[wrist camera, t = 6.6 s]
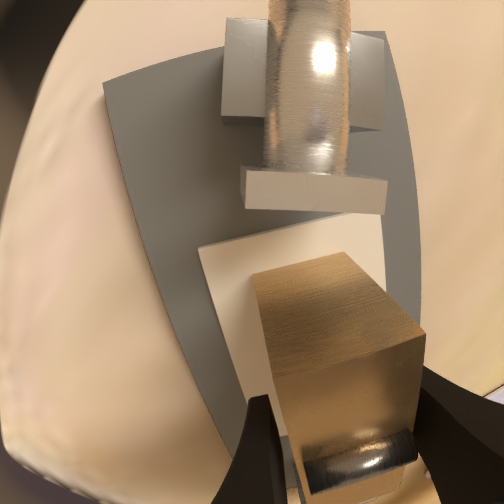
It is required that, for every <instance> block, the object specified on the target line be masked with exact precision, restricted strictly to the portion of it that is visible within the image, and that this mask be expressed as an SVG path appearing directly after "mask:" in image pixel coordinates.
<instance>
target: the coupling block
mask: <svg viewBox="0 0 504 504" xmlns="http://www.w3.org/2000/svg"><path fill="white" fill-rule="evenodd" d="M252 277H253V282H254V287H255V292H256V297H257V303H258V308H259V313H260V318H261V323H262V328H263V333H264V338H265V343H266V348H267V353H268V358H269V363H270V367H271V372H272V377H273V382H274V386H275V389H276V393H277V397H278V401H279V404H280V408H281V412H282V415H283V419H284V423H285V426H286V430H287V434H288V437H289V441H290V445H291V448H292V452H293V456H294V459H295V463H296V467H297V470H298V474H299V477H300V481H301V485H302V488H303V492H304V495H305V499H306V502H307V504H358V503H361V502H364V501H367V500H370V499H372V498H375V497H378V496H381V495H383V494H386V493H389V492H391V491H394V490H396V489H399V487H400V483H401V480H402V476H403V472H404V468H405V465H407V464H410V463H412V462H414V461H416V460H417V458H418V447H417V443H416V440H415V437H414V435H413V428H414V423H415V418H416V412H417V406H418V400H419V394H420V387H421V379H422V371H423V362H424V353H425V342H426V333H425V332H424V331H423V330H422V329H421V328H420V326H419V325H418V324H417V323H416V322H415V321H414V320H413V319H412V318H411V317H410V316H409V315H408V314H407V313H406V312H405V311H404V310H403V309H402V308H401V307H400V306H399V305H398V304H397V303H396V302H395V301H394V300H393V299H392V298H391V297H390V296H389V295H388V294H387V293H386V292H385V291H384V290H383V289H382V288H381V287H380V286H379V285H378V284H377V283H376V282H375V281H374V280H373V279H372V278H371V277H370V276H369V275H368V274H367V273H366V272H365V271H364V270H363V269H362V268H361V267H360V266H359V265H358V264H357V263H355V262H354V261H353V260H352V259H351V258H350V257H349V256H348V255H347V254H346V253H345V252H344V251H343V252H339V253H335V254H331V255H327V256H323V257H319V258H315V259H311V260H307V261H303V262H299V263H295V264H291V265H287V266H283V267H279V268H275V269H271V270H267V271H263V272H259V273H254V274H252Z"/></svg>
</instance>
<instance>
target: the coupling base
mask: <svg viewBox="0 0 504 504" xmlns="http://www.w3.org/2000/svg"><path fill="white" fill-rule="evenodd" d="M351 32H353V33H358V34H362V35H367V36H371V37H375V38H379V39H383V40H384V71H385V90H384V127H383V131H369V132H355V133H350V134H349V151H348V166H347V171H350V172H354V173H358V174H363V175H367V176H371V177H375V178H379V179H383V180H387V181H388V185H387V195H386V204H385V213H384V215H376V214H360V213H342V212H322V211H299V210H271V209H245V206H244V203H243V200H242V196H241V193H240V164H263V143H264V126H249V125H223V124H222V118H221V104H222V83H223V64H224V47H225V46H223V47H219V48H214V49H210V50H205V51H201V52H197V53H193V54H189V55H186V56H182V57H178V58H175V59H171V60H168V61H164V62H161V63H158V64H154V65H151V66H148V67H145V68H142V69H139V70H136V71H133V72H130V73H127V74H125V75H122V76H119V77H117V78H114V79H111V80H109V81H106V82H104V83H102V84H103V89H104V94H105V99H106V104H107V109H108V114H109V118H110V123H111V127H112V132H113V136H114V140H115V145H116V149H117V153H118V157H119V161H120V165H121V169H122V172H123V176H124V180H125V184H126V187H127V191H128V195H129V198H130V202H131V205H132V208H133V212H134V215H135V219H136V222H137V225H138V228H139V232H140V235H141V238H142V241H143V244H144V247H145V250H146V254H147V257H148V260H149V263H150V266H151V268H152V271H153V274H154V277H155V280H156V283H157V286H158V288H159V291H160V294H161V297H162V300H163V302H164V305H165V308H166V310H167V313H168V316H169V318H170V321H171V323H172V326H173V329H174V331H175V334H176V336H177V339H178V341H179V344H180V346H181V349H182V351H183V353H184V356H185V358H186V361H187V363H188V365H189V368H190V370H191V372H192V375H193V377H194V379H195V382H196V384H197V386H198V388H199V391H200V393H201V395H202V397H203V399H204V402H205V404H206V406H207V408H208V410H209V412H210V414H211V417H212V419H213V421H214V423H215V425H216V427H217V429H218V431H219V433H220V435H221V437H222V439H223V441H224V443H225V445H226V447H227V449H228V451H229V453H230V455H231V457H232V459H233V458H234V455H235V453H236V450H237V447H238V444H239V441H240V438H241V434H242V431H243V427H244V423H245V419H246V414H247V408H248V400H249V399H250V398H251V397H255V396H260V395H265V394H268V396H269V399H270V403H271V406H272V410H273V413H274V417H275V420H276V423H277V427H278V431H279V436H280V440H281V445H282V450H283V458H284V469H285V480H286V489H289V488H294V487H297V482H296V478H295V473H294V468H293V464H294V463H295V459H294V456H293V452H292V448H291V445H290V441H289V437H288V434H287V430H286V426H285V423H284V419H283V415H282V412H281V408H280V404H279V401H278V397H277V393H276V389H275V386H274V382H273V377H272V372H271V367H270V363H269V358H268V353H267V348H266V343H265V338H264V333H263V328H262V323H261V318H260V313H259V308H258V303H257V297H256V292H255V287H254V282H253V277H252V274H254V273H259V272H263V271H267V270H271V269H275V268H279V267H283V266H287V265H291V264H295V263H299V262H303V261H307V260H311V259H315V258H319V257H323V256H327V255H331V254H335V253H339V252H343V251H344V252H345V253H346V254H347V255H348V256H349V257H350V258H351V259H352V260H353V261H354V262H355V263H357V264H358V265H359V266H360V267H361V268H362V269H363V270H364V271H365V272H366V273H367V274H368V275H369V276H370V277H371V278H372V279H373V280H374V281H375V282H376V283H377V284H378V285H379V286H380V287H381V288H382V289H383V290H384V291H385V292H386V293H387V294H388V295H389V296H390V297H391V298H392V299H393V300H394V301H395V302H396V303H397V304H398V305H399V306H400V307H401V308H402V309H403V310H404V311H405V312H406V313H407V314H408V315H409V316H410V317H411V318H412V319H413V320H414V321H415V322H416V323H417V324H418V325H419V326H420V313H421V245H420V225H419V211H418V199H417V189H416V179H415V171H414V163H413V156H412V149H411V143H410V136H409V131H408V125H407V119H406V114H405V109H404V104H403V99H402V95H401V90H400V86H399V82H398V77H397V73H396V69H395V66H394V62H393V58H392V54H391V51H390V47H389V44H388V40H387V37H386V34H385V31H351Z"/></svg>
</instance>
